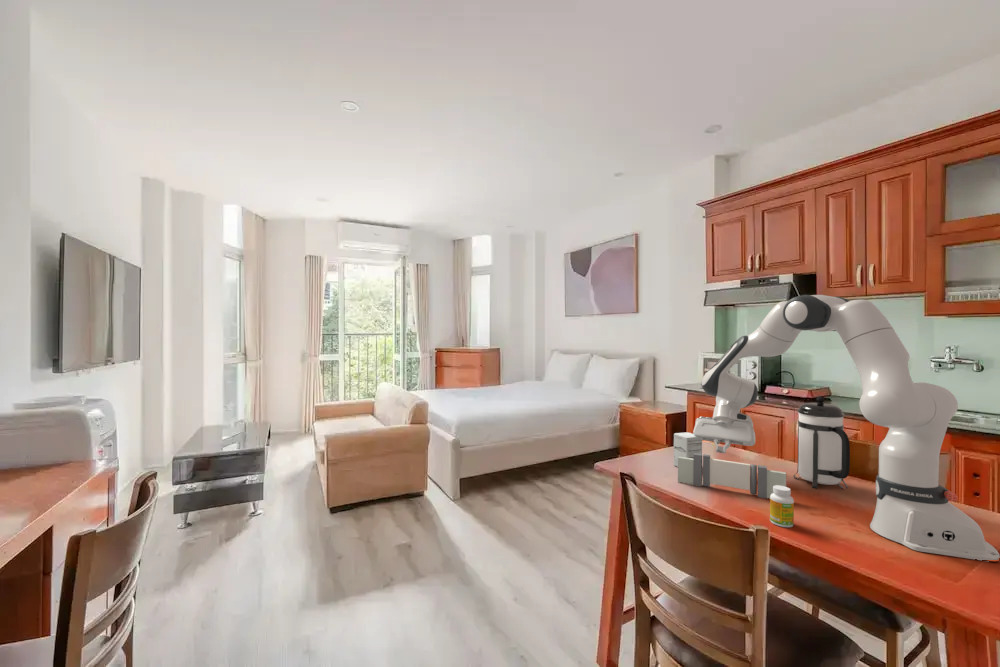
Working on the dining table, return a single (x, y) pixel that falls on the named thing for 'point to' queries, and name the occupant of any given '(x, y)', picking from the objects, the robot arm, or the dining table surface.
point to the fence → (693, 475)
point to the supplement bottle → (781, 506)
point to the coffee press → (822, 444)
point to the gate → (729, 474)
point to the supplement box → (686, 446)
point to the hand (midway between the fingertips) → (720, 452)
